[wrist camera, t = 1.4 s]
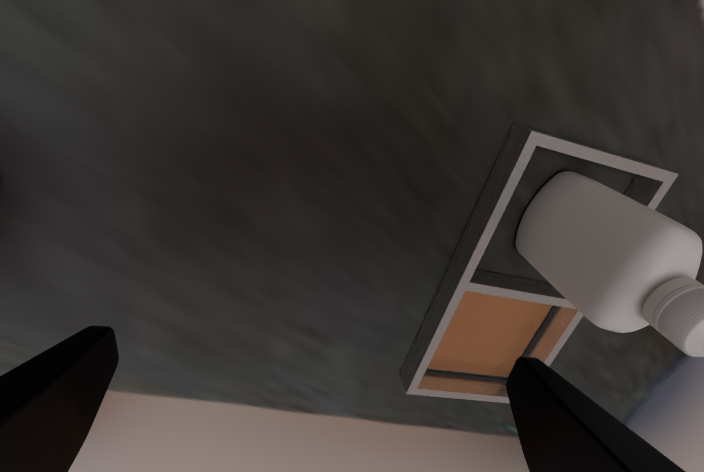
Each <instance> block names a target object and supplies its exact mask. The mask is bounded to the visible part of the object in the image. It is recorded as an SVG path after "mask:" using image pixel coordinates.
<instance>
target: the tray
mask: <svg viewBox="0 0 704 472" xmlns="http://www.w3.org/2000/svg"><path fill="white" fill-rule="evenodd" d="M536 146H540V147H543V148H547V149H550V150H554V151H557V152H561V153H564V154H568V155H571V156H575V157H578V158H582V159H585V160H589V161H592V162H596V163H599V164H603V165H606V166H610V167H613V168H617V169H620V170H624V171H627V172H631V173H634V174H636V176H635V177H634V179H633V181H632V182H631V184H630V185H629V187H628V189H627V190H626V192H625V193H624V195H625V196H627V197H629V198H631V199H633V200H635V201H637V202H639V203H641V204H643V205H645V206H647V207H649V208H651V209H653V210H655V209H656V207H657V206H658V204H659V203H660V201H661V200H662V198H663V197H664V195H665V194H666V192H667V191H668V189H669V188H670V186H671V185H672V183H673V182H674V180H675V179H676V177H677V176H678V174H677V173H674V172H672V171H669V170H666V169H664V168H661V167H658V166H656V165H653V164H650V163H646V162H643V161H640V160H636V159H633V158H630V157H626V156H623V155H620V154H616V153H613V152H609V151H606V150H603V149H599V148H596V147H593V146H589V145H586V144H583V143H579V142H576V141H572V140H569V139H566V138H562V137H559V136H556V135H552V134H549V133H545V132H542V131H539V130H535V129H532V128H529V127H525V126H522V125H519V124H515V123H513V125H512V128H511V130H510V132H509V134H508V136H507V139H506V141H505V143H504V145H503V147H502V150H501V152H500V154H499V156H498V158H497V161H496V163H495V165H494V167H493V169H492V172H491V174H490V176H489V178H488V181H487V183H486V185H485V187H484V189H483V192H482V194H481V196H480V198H479V200H478V203H477V205H476V207H475V209H474V211H473V214H472V216H471V218H470V220H469V222H468V225H467V227H466V229H465V231H464V233H463V236H462V238H461V240H460V242H459V244H458V247H457V249H456V251H455V253H454V255H453V258H452V260H451V262H450V264H449V266H448V269H447V271H446V273H445V275H444V277H443V280H442V282H441V284H440V286H439V288H438V291H437V293H436V295H435V297H434V299H433V302H432V304H431V306H430V308H429V310H428V313H427V315H426V317H425V319H424V321H423V324H422V326H421V328H420V330H419V332H418V335H417V337H416V339H415V341H414V344H413V346H412V348H411V350H410V352H409V355H408V357H407V359H406V361H405V363H404V366H403V368H402V370H401V372H400V376H401V379H402V382H403V386H404V389H405V392H406V394H413V395H424V396H435V397H446V398H457V399H468V400H479V401H490V402H501V403H510V402H509V398H508V395H507V390H506V382H507V379H502V378H493V377H483V376H474V375H465V374H456V373H447V372H437V371H428V370H426V369H427V368H429V369H438V370H447V371H456V372H466V373H475V374H484V375H493V376H502V377H508V375H509V374H510V372H511V370H512V368H513V366H514V364H515V361H516V360H517V358H519V357H520V356H521V355H522V353H523V351H524V350H525V348H526V346H527V345H528V343H529V342H530V340H531V338H532V337H533V335H534V334H535V332H536V330H537V329H538V327H539V326H540V324H541V322H542V321H543V319H544V318H545V316H546V314H547V313H548V311H549V310H550V308H551V306H552V305H554V307H553V309H552V310H551V312H550V313H549V315H548V317H547V318H546V320H545V321H544V323H543V325H542V326H541V328H540V329H539V331H538V333H537V334H536V336H535V337H534V339H533V341H532V342H531V344H530V345H529V347H528V349H527V350H526V352H525V353H524V355H523V356H525V357H535V358H538V359H539V360H541V361H542V362H543V363H545V364H546V365H547V366H550V364H551V363H552V361H553V360H554V358H555V357H556V355H557V354H558V352H559V351H560V349H561V348H562V346H563V345H564V343H565V342H566V340H567V339H568V337H569V336H570V334H571V333H572V332H573V330H574V329H575V327H576V326H577V324H578V323H579V321H580V320H581V318H582V317H583V314H582V313H580V312H579V311H578V310H577V309H576V308H575V307H574V306H573V305H572V304H571V303H570V302H569V301H568V300H567V299H566V298H565V297H564V296H563V295H562V294H561V293H560V292H559V291H558V290H556V289H555V288H554V287H553V286H552V285H551V284H550V283H547V282H541V281H536V280H531V279H525V278H520V277H514V276H509V275H503V274H498V273H493V272H487V271H482V270H476V267H477V265H478V263H479V261H480V259H481V257H482V255H483V253H484V251H485V249H486V247H487V245H488V243H489V241H490V239H491V237H492V235H493V233H494V231H495V229H496V227H497V225H498V223H499V221H500V219H501V217H502V214H503V212H504V210H505V208H506V206H507V204H508V202H509V200H510V198H511V196H512V194H513V192H514V190H515V188H516V186H517V184H518V182H519V180H520V178H521V176H522V174H523V172H524V170H525V168H526V166H527V164H528V162H529V160H530V158H531V155H532V153H533V151H534V149H535V147H536Z"/></svg>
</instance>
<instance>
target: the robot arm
mask: <svg viewBox="0 0 704 472" xmlns="http://www.w3.org/2000/svg"><path fill="white" fill-rule="evenodd" d="M118 359H119V355H118V349H117V344H116V339H115V333H114V330H113V329H112V328H111V327H106V326H89V327H87V328H85V329H83V330H81V331H80V332H78V333H76V334H74V335H72V336H71V337H69V338H67V339H65V340H64V341H62V342H60V343H58V344H57V345H55V346H53V347H51V348H49V349H48V350H46V351H44V352H42V353H41V354H39V355H37V356H35V357H34V358H32V359H30V360H28V361H26V362H25V363H23V364H21V365H19V366H18V367H16V368H14V369H12V370H11V371H9V372H7V373H5V374H3V375H2V376H0V472H68V470H69V468H70V467H71V465H72V463H73V461H74V459H75V458H76V456H77V454H78V452H79V451H80V448H81V447H82V445H83V443H84V441H85V439H86V437H87V435H88V433H89V431H90V428H91V426H92V424H93V422H94V419H95V417H96V415H97V412H98V410H99V407H100V405H101V403H102V400H103V398H104V396H105V393H106V391H107V389H108V386H109V384H110V382H111V379H112V377H113V375H114V372H115V370H116V368H117V364H118ZM506 390H507V395H508V398H509V402H510V406H511V410H512V413H513V417H514V421H515V425H516V428H517V432H518V436H519V440H520V443H521V447H522V450H523V454H524V457H525V459H526V463H527V465H528V468H529V471H530V472H685V471H684V470H683V469H681V468H680V467H679V466H677V465H676V464H675V463H674V462H672V461H671V460H670V459H668V458H667V457H666V456H664V455H663V454H662V453H661V452H659V451H658V450H657V449H655V448H654V447H653V446H651V445H650V444H649V443H648V442H646V441H645V440H644V439H642V438H641V437H640V436H638V435H637V434H636V433H634V432H633V431H632V430H630V429H629V428H628V427H627V426H625V425H624V424H623V423H622V422H620V421H619V420H618V419H616V418H615V417H614V416H612V415H611V414H610V413H609V412H607V411H606V410H605V409H603V408H602V407H601V406H599V405H598V404H597V403H595V402H594V401H593V400H592V399H590V398H589V397H588V396H586V395H585V394H584V393H582V392H581V391H580V390H579V389H577V388H576V387H575V386H573V385H572V384H571V383H569V382H568V381H567V380H566V379H564V378H563V377H562V376H560V375H559V374H558V373H556V372H555V371H554V370H553V369H551V368H550V367H549V366H547V365H546V364H545V363H543V362H542V361H541V360H539V359H538V358H535V357H525V356H521V357H519V358H517V360H516V361H515V364H514V366H513V368H512V370H511V372H510V374H509V377H508V379H507V382H506Z"/></svg>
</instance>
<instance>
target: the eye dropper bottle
mask: <svg viewBox="0 0 704 472" xmlns="http://www.w3.org/2000/svg"><path fill="white" fill-rule="evenodd" d="M515 244H516V248H517V251H518V252H519V253H520V254H521V255H522V256H523V257H524V258H525V259H526V260H527V261H528V262H529V263H530V264H531V265H532V266H533V267H534V268H535V269H536V270H537V271H538V272H539V273H540V274H541V275H542V276H543V277H544V278H545V279H546V280H547V281H548V282H549V283H550V284H551V285H552V286H553V287H554V288H555V289H556V290H558V291H559V292H560V293H561V294H562V295H563V296H564V297H565V298H566V299H567V300H568V301H569V302H570V303H571V304H572V305H573V306H574V307H575V308H576V309H577V310H578V311H579V312H580V313H582V314H583V315H584V316H585V317H586V318H587V319H588V320H589V321H591V322H592V323H593V324H595V325H596V326H598V327H600V328H603V329H606V330H610V331H614V332H621V333H626V332H633V331H636V330H638V329H641V328H643V327H645V326H647V325H649V324H650V325H651V326H652V327H654V328H655V329H656V330H657V331H659V332H660V333H661V334H662V335H663V336H665V337H666V338H667V339H668V340H669V341H671V342H672V343H673V344H674V345H675V346H677V347H678V348H679V349H680V350H682V351H683V352H684V353H685V354H687V355H689V356H693V357H703V356H704V285H703V284H701V283H700V282H698V281H696V280H695V278H696V275H697V272H698V269H699V266H700V261H701V256H702V241H701V239H700V238H699V236H698V235H697V234H696V233H695V232H694V231H692V230H691V229H689V228H687V227H685V226H684V225H682V224H680V223H678V222H676V221H674V220H672V219H670V218H668V217H666V216H664V215H663V214H661V213H659V212H657V211H655V210H653V209H651V208H649V207H647V206H645V205H643V204H641V203H639V202H637V201H635V200H633V199H631V198H629V197H627V196H625V195H623V194H621V193H619V192H617V191H615V190H613V189H611V188H609V187H607V186H605V185H603V184H601V183H599V182H597V181H595V180H593V179H591V178H588V177H586V176H583V175H581V174H578V173H575V172H572V171H563V172H560V173H558V174H556V175H555V176H554V177H553V178H551V179H550V180H549V181H548V182H547V183H546V184H545V185H544V186H543V187H542V188H541V189H540V191H539V192H538V193H537V194H536V195H535V197H534V198H533V199H532V201H531V202H530V204H529V205H528V207H527V209H526V211H525V213H524V215H523V217H522V219H521V222H520V224H519V227H518V231H517V235H516V242H515Z"/></svg>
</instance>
